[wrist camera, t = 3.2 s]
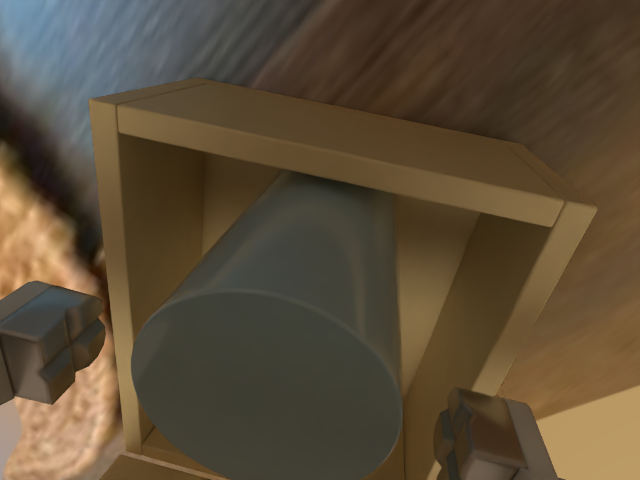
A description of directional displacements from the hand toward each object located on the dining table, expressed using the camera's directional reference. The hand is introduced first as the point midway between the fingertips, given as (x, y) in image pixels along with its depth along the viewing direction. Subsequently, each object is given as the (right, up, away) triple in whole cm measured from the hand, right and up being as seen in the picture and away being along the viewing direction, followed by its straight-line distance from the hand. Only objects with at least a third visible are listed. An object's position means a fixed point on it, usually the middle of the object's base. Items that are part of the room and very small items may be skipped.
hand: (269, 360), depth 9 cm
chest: (+1, +1, +11) cm, 11 cm away
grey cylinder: (+2, +4, +8) cm, 10 cm away
